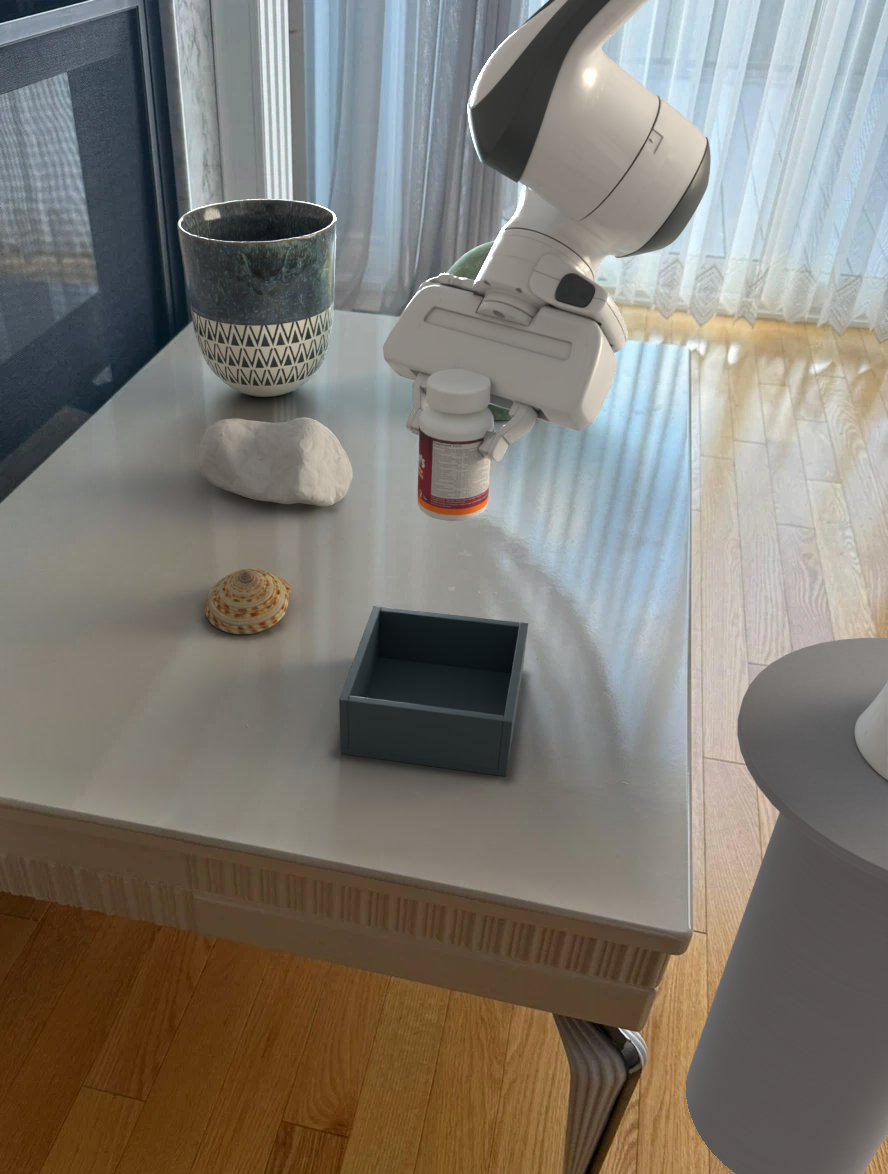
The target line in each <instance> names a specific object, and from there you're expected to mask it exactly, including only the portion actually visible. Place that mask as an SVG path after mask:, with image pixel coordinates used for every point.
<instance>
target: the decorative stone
mask: <svg viewBox="0 0 888 1174" xmlns="http://www.w3.org/2000/svg"><path fill="white" fill-rule="evenodd" d="M197 457H198V467H199V471H200V473H201V475H202V476H203V478H205V479H206V480H207V481H208V482H209V483H210V484H211V485H214V486H215V487H217V488H220V489H222V490H225V491H227V492H230V493H234V495H239V496H241V497H243V498H247V499H251V500H253V501H261V502H267V503H268V502H269V503H276V504H281V505H282V504H283V505H292V504H304V505H311V506H318V507H322V508H323V507H330V506H333V505H334V504H336V503H339V502H340V501H341V500H342V499H343V498H345V496H346V495H347V493H348V491H349V488H350V486H351V483H352V480H353V477H354V472H353V468H352V465H351V461H350V460H349V457H348V455H347V452H346V450H344V448H343V446H342V444H341V442H340V441H339V439H338V438H337V436H336V435H335V434H334V432H332V431H331V429H329V428H328V427H327V426H326V425H324V424H322V423H321V422H319V420H316V419H314V418H312V417H305V416H304V417H303V416H302V417H297V418H294V419H293V420H289V421H286V422H285V421H284V422H270V421H269V422H268V421H259V420H249V419H243V418H234V417H233V418H224V419H220V420H217V421H215V422H214V423H212V424H211V425H210V426H209V427H208V428H207V429H206V430H205V432H204V434H203V437H202V440H201V442H200V445H199V450H198V456H197Z"/></svg>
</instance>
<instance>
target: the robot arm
mask: <svg viewBox="0 0 888 1174" xmlns="http://www.w3.org/2000/svg"><path fill="white" fill-rule="evenodd" d="M648 2H649V0H548V1H546V2H545V3H544V4H543V5H542V6H541V7H540V8H538V10H536V11H535V12H534V13H533V14H532V15H531V16H530V17H529V18H527V20H525V22H523V24H521V26H519V27H518V28H517V29H516V30H515V31H514V32H513V33H511V34H510V35H509V36H507V38H506V39H505V40H504V41H502V43H500V44H499V45H498V47H497V48H496V50H494V52H492V54H491V56H489V58H488V60H487V61H486V63H485V65H484V66H483V67H482V69H481V71H480V73H479V75H478V77H477V79H476V81H475V83H474V86H473V90H472V91H471V95H470V96H469V98H468V101H467V106H466V107H467V115H468V116H467V117H468V124H469V129H470V134H471V138H472V142H473V145H474V148H475V151H476V154H477V156H478V159H479V162H480V163H482V164H484V165H485V166H486V167H489V168H490V169H492V170H494V171H496V172H497V173H499V174H500V175H502V176H504V177H506V178H507V179H510V180H511V181H513V182H515V183H517V184H518V183H520V184H521V185H523V186H522V189H521V192H520V197H519V202H518V204H517V208H516V211H515V212H514V214H513V216H512V217H511V218H510V219H509V220H508V221H507V222H506V224H504V226H503V227H502V228H501V230H500V231H499V233H498V235H497V237H496V238H495V240H496V241H495V240H494V241H495V243H494V245H493V247H492V249H491V251H490V253H489V255H488V257H487V259H486V261H485V263H484V265H483V267H482V269H481V270H480V272H479V274H478V276H477V278H476V280H472V279H467V278H458V277H455V276H454V275H451V274H446V273H440V274H439V275H438V276H434V277H432V278H429V279H427V280H425V281H423V282H422V283H421V284H420V285H419V287H418V289H417V291H416V293H415V295H414V296H413V297H412V299H411V300H410V301H409V302H408V304H407V305H406V307H405V308H404V310H403V311H402V312H401V314H400V316H399V317H398V319H397V320H396V322H395V324H394V325H393V326H392V328H391V330H390V332H389V334H388V335H387V337H386V339H385V341H384V343H383V345H382V352H383V359H384V361H385V362H386V363H387V365H388V366H389V367H390V368H391V369H392V370H393V372H394V373H396V374H397V375H398V376H399V377H403V378H406V379H409V380H412V381H413V383H412V401H413V402H412V406H413V408H412V410H411V413H410V414H409V416H408V418H407V421H406V424H405V425H406V426H405V427H406V429H408V431H409V432H410V433H412V434H414V435H417V436H419V423H420V416H421V413H422V411H423V410H424V409H425V408H426V407H427V406H428V404H427V401H426V394H427V380H428V378H429V377H430V376H431V375H432V374H434V373H436V372H438V371H442V370H448V369H465V370H468V371H471V372H475V373H478V374H481V375H484V376H487V377H489V379H490V381H491V389H490V403H489V404H492V405H495V406H498V407H501V408H504V409H508V410H510V411H509V415H510V416H511V418H512V419H510V420H507V421H506V423H504V425H502V426H501V427H500V428H498V429H497V430H496V431H495V432H493V433H492V432H489V431H486V433H485V435H484V437H483V442H481V443H480V445H479V448H478V452H479V453H480V454H481V455H482V457H484V458H487V459H489V460H491V462H492V461H493V462H495V463H501V461H502V459H503V458H504V455H505V454H506V451H507V450H508V448H509V447H510V446H512V445H513V444H514V443H516V442H517V441H518V440H520V439H522V438H523V437H524V436H525V435H526V434H528V433H529V432H531V431H532V428H533V427H534V425H535V423H536V421H537V420H540V421H543V422H546V423H550V424H553V425H556V426H559V427H562V428H566V429H569V430H572V431H575V432H581V431H582V430H585V429H586V428H587V427H589V426H591V425H592V424H594V423H595V421H596V420H597V418H598V416H599V414H600V412H601V411H602V408H603V406H604V404H605V402H606V400H607V398H608V395H609V393H610V390H611V388H612V386H613V382H614V380H615V377H616V374H617V369H618V359H617V356H616V354H615V353H618V352H620V351H621V350H622V349H623V348H624V346H625V344H626V343H627V341H628V338H629V331H628V327H627V324H626V322H625V320H624V317H623V315H622V313H621V312H620V309H619V307H618V305H617V304H616V303H615V300H614V299H613V297H612V296H611V295H610V293H609V292H608V291H607V289H606V288H604V287H603V286H601V285H600V284H598V283H597V282H595V281H596V277H597V273H598V270H599V267H600V265H601V263H602V262H603V260H604V259H605V258H606V257H609V256H613V257H614V258H615V259H622V258H623V259H624V258H628V257H629V258H630V257H634V256H639V255H643V254H648V253H652V252H657V251H660V250H662V249H665V248H668V247H669V246H670V245H671V244H673V243H674V242H675V241H676V240H677V239H678V238H679V236H680V235H681V234H682V233H683V231H684V230H685V229H686V227H687V226H688V224H689V222H690V221H691V219H692V218H693V216H694V214H695V212H696V211H697V209H698V207H699V206H700V204H701V202H702V200H703V198H704V196H705V193H706V191H707V189H708V186H709V181H710V174H711V164H712V163H711V162H712V161H711V159H712V155H711V147H710V143H709V138H708V136H705V135H704V134H703V132H702V131H701V130H700V129H699V128H698V127H697V126H696V125H695V124H694V123H693V121H691V120H689V118H687V117H686V116H685V115H684V114H682V112H680V111H679V110H677V109H676V108H675V107H674V106H673V105H671V104H670V103H669V102H668V101H666V100H665V99H664V98H662V97H661V96H660V95H658V94H655V93H654V92H653V91H651V90H650V89H649V88H648V87H646V85H644V84H643V83H642V82H640V81H639V80H638V79H636V78H635V77H634V76H633V75H632V74H631V73H629V72H628V71H627V70H625V68H624V67H621V66H620V65H619V64H618V63H616V62H615V61H614V60H613V59H612V58H610V57H609V56H608V55H607V54H606V53H605V52H604V50H603V49H602V47H603V46H604V45H605V44H606V43H607V42H608V41H609V40H610V39H611V38H612V37H613V36H614V35H615V34H616V33H617V32H618V31H619V30H620V29H621V28H622V27H623V26H624V25H625V24H626V23H627V22H628V21H629V20H630V19H631V18H633V17H634V15H635V14H637V12H638V11H639V10H640V9H641V8H643V7H644V6H645V5H646V4H647V3H648ZM854 734H855V740H856V744H857V746H858V749H859V751H860V752H861V754H862V756H863V757H864V758H865V760H866V761H867V762H868V764H869V765H870V766H871V767H872V768H873V769H874V770H875V771H876V772H877V773H878V774H880V775H881V776H882V777H883V778H885V779H886V780H887V781H888V681H887V683H886V684H885V686H884V687H883V689H882V690H881V692H880V693H879V694H878V696H877V697H876V698H875V700H874V701H873V702H872V703H871V704H870V706H869V707H868V708H867V709H866V710H865V711H864V712H863V713H862V714H861V715H860V716H859V718H858V720H857V722H856V724H855V730H854Z"/></svg>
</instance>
